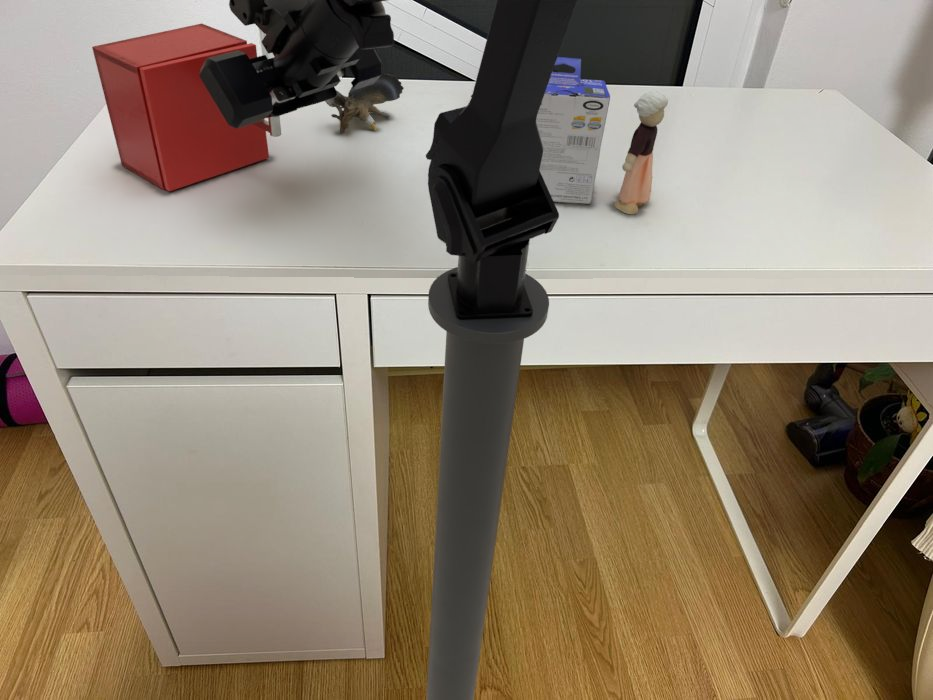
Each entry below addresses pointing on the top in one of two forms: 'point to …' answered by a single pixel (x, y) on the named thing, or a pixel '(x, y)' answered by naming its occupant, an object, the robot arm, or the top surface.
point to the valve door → (198, 123)
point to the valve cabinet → (127, 89)
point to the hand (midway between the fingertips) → (266, 112)
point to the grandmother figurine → (641, 153)
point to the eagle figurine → (365, 101)
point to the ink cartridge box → (571, 133)
